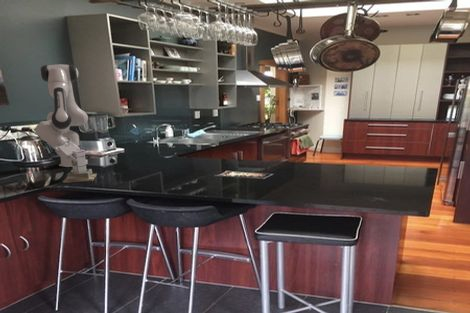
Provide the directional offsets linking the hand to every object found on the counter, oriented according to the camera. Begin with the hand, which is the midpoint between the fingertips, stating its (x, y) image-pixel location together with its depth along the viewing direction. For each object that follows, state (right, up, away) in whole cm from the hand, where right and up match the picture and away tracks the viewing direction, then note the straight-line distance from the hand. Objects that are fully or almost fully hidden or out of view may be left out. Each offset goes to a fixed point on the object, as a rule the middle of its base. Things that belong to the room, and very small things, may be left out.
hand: (79, 159), depth 197 cm
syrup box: (-1, -9, +2) cm, 9 cm away
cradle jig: (0, -11, +2) cm, 12 cm away
